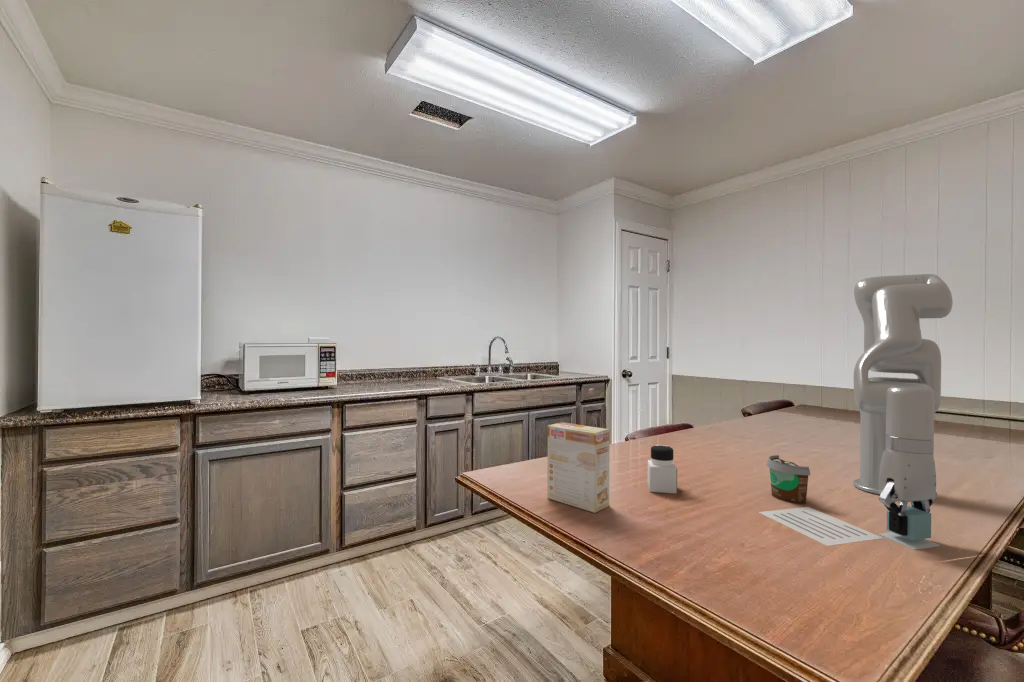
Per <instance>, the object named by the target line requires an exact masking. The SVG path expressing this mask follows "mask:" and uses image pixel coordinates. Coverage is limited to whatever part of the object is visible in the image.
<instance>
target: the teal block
mask: <svg viewBox="0 0 1024 682" xmlns="http://www.w3.org/2000/svg"><path fill="white" fill-rule="evenodd" d="M897 506H898V507H899V506H900V504H899V505H898V504H897ZM905 516H906V517H908V518H907V536H903V535H901V536H903V537H906V538H908V539H911V540H919V539H926V540H927V539H931V538H932V513H931V512H930V513H928V512H925V511H922V510H919V509H916V508H913V507H912V506H910V505H907V508H906V512H905ZM886 531H889V532H893V531H890V530H889V512H888V511H887V510H886ZM893 533H895V532H893ZM896 534H898V533H896ZM898 535H900V534H898Z"/></svg>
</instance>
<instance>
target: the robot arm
mask: <svg viewBox="0 0 1024 682" xmlns="http://www.w3.org/2000/svg"><path fill="white" fill-rule="evenodd" d="M853 290H854V291H853V293H854V294H853V295H854V301H855V304H856V307H857V309H858V312H859V313H860V316H861V317H862V320H863V331H864V333H863V353H862V354H861V355H860V356H859V358H858V360H857V361H856V363H855V365H854V370H853V397H854V403H855V406H856V407H857V408H858V410H859V416H860V421H859V422H860V441H859V442H860V445H859V447H860V451H859V456H860V457H859V461H860V462H859V464H860V465H859V466H860V467H859V472H860V473H859V478H856V479H854V480H852V481H853V482H852V484H853V486H854V487H855V488H857V489H859V490H861V491H863V492H867V493H870V494H875V495H878V496H879V497H878V501H880V502H881V503H882V504H883V505H884V507H885V508H886V512H887V511H888V512H889V530H890V531H889V532H891V531H893V532H895V533H898V534H900V535H903V536H907V518H908V517H906V516H905V512H906V508H907V506H908V503H909V502H910V504H911V506H910V507H913V508H916V509H919V510H922V511H925V512H928V513H931V506H932V505H933V502H934V501H935V500H936V498H937V497H938V493H937V472H936V471H937V470H936V464H935V463H936V462H935V457H934V454H935V444H934V443H935V439H934V437H935V436H934V435H935V413H936V412H938V410H939V409H940V405H941V397H942V391H941V390H942V356H941V350H940V347H939V344H937V343H936V342H935V341H933V340H931V339H926V338H923V337H922V331H921V323H920V319H942V318H946V317H947V316H948V315H949V314H950V313H951V312H952V309H953V302H954V301H953V295H952V292H951V290H950V288H949V286H948V284H947V283H946V282H945V281H944V280H943V279H942V278H941V277H940V276H938V275H937V274H931V273H924V274H923V273H922V274H920V273H919V274H902V275H900V274H899V275H885V276H883V275H882V276H880V275H879V276H874V277H867V278H862V279H860V280H859V281H857V282H856V283H855V285H854V289H853ZM869 371H871V372H875V373H887V374H888V373H889V374H909V375H910V374H912V375H915V376H916V377H917V378H910V377H909V378H906V377H905V378H903V377H902V378H901V377H888V376H887V377H885V376H872V377H869ZM897 503H899V505H900V506H899V507H898V504H897Z"/></svg>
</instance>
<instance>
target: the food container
mask: <svg viewBox="0 0 1024 682" xmlns="http://www.w3.org/2000/svg"><path fill="white" fill-rule="evenodd" d="M766 467H768V468H769V476H770V477H769V478H770V488H771V489H770V491H771V496H772V497H773V498H775V499H777V500H779V501H783V502H787V503H792V504H800V505H801V504H802V505H805V504H807V497H808V496H807V495H808V485H809V484H808V483H809V476H811V469H810V467H809V466H802V465H801V466H799V465H797V464H796V463H794V462H791V461H787V460H784V459H781V458H780V455H779V454H775V455H771V456H768V459H767V462H766Z"/></svg>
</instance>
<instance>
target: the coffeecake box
mask: <svg viewBox="0 0 1024 682" xmlns="http://www.w3.org/2000/svg"><path fill="white" fill-rule="evenodd" d="M610 443H611V441H610V429H609V428H604V427H598V426H597V427H595V426H589V425H583V424H577V423H569V422H556V423H554V424H552V423H551V424H548V425H547V480H546V481H547V482H546V483H547V486H546V487H547V495H546V496H547V499H549V500H552V501H555V502H559V503H562V504H566V505H569V506H571V507H575V508H578V509H581V510H584V511H588V512H591V513H594V514H596V513H597V512H600V511H601V510H603V509H606V508H608V507H610V448H611V447H610Z"/></svg>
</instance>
